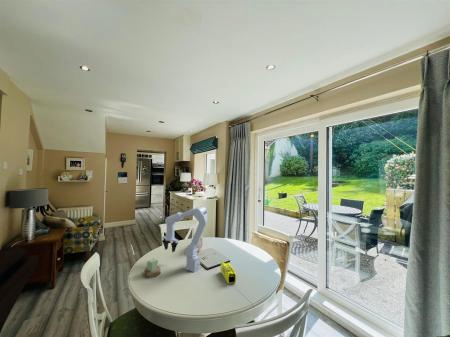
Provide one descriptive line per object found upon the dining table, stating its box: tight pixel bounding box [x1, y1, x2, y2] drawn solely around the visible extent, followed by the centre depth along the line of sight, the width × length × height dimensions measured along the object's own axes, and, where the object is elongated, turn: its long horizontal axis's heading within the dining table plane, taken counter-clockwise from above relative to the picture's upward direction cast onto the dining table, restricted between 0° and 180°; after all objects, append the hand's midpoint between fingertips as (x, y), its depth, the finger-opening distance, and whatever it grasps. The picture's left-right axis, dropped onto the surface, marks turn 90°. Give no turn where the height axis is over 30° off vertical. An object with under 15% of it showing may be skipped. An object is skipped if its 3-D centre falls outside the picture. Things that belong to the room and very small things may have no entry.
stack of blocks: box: [197, 235, 203, 254], centre depth 177 cm, size 21×6×12 cm, turn 178°
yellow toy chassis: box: [220, 261, 237, 285], centre depth 133 cm, size 16×6×8 cm, turn 18°
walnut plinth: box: [143, 265, 161, 279], centre depth 134 cm, size 10×10×3 cm
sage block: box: [146, 257, 159, 272], centre depth 134 cm, size 4×4×6 cm
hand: (169, 250), depth 150 cm, fingers open, 7 cm apart
